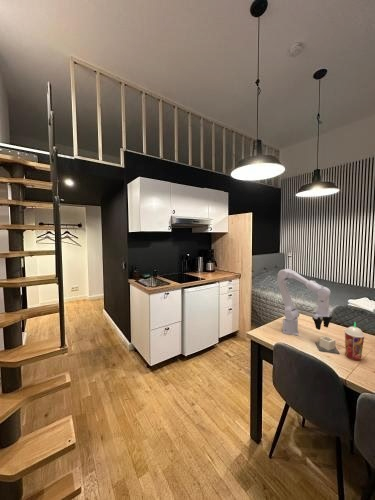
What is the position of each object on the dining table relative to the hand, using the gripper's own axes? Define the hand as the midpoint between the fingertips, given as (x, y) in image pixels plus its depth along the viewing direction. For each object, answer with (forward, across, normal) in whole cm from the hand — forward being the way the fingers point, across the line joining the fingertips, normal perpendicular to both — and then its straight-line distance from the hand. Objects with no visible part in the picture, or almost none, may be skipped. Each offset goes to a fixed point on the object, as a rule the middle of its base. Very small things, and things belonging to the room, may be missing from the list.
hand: (321, 328), depth 131 cm
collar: (+8, -4, -6) cm, 11 cm away
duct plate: (+9, -4, -6) cm, 12 cm away
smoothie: (+9, 0, -18) cm, 20 cm away
